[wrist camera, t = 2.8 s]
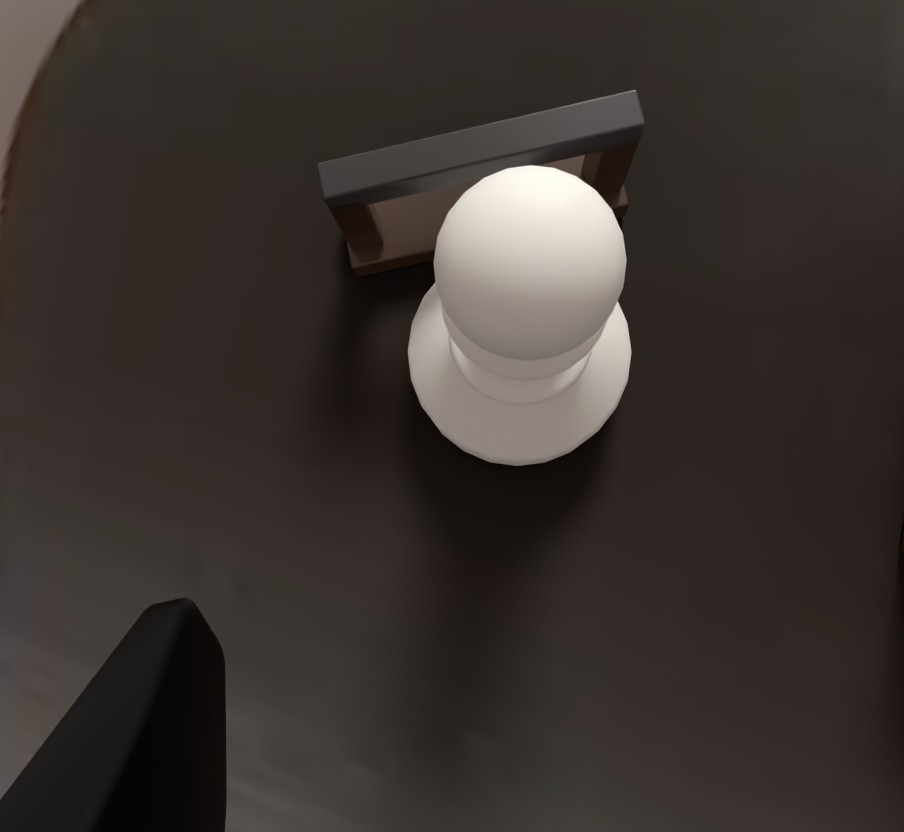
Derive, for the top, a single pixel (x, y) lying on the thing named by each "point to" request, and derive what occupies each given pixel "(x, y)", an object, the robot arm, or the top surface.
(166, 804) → the robot arm
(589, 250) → the chess pawn
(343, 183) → the low rail
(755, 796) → the top surface
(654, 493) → the top surface
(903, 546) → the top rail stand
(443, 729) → the top surface
